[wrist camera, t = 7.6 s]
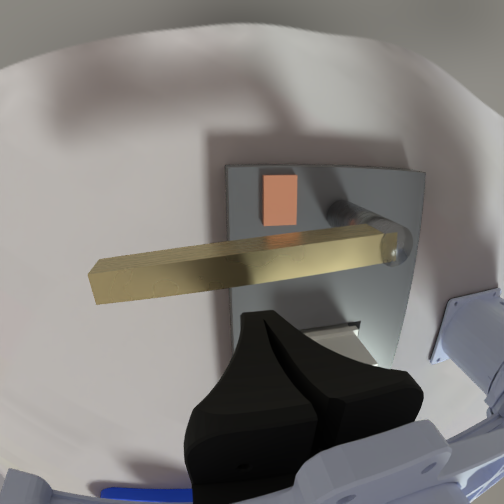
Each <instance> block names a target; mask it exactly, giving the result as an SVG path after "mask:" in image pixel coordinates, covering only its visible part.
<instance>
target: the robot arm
mask: <svg viewBox="0 0 504 504" xmlns="http://www.w3.org/2000/svg"><path fill="white" fill-rule="evenodd" d="M500 295H501V289H500V288H496V289H492V290H488V291H483V292H479V293H475V294H471V295H466V296H462V297H458V298H453V299H450V300H449V301H448V304H447V307H446V311H445V315H444V318H443V322H442V325H441V329H440V332H439V335H438V338H437V341H436V345H435V348H434V351H433V354H432V357H431V359H430V363H431V364H436V363H439V362H442V361H445V360H448V359H451V360H452V361H453V362H454V363H455V364H456V365H457V366H458V367H459V368H460V369H461V370H462V371H463V372H464V373H465V374H466V375H467V376H468V377H469V378H470V379H471V380H472V381H473V382H474V383H475V384H476V385H477V386H478V387H479V388H480V389H481V390H482V391H483V392H484V393H485V394H486V395H487V397H486V399H485V400H484V401H485V402H486V403H487V405H488V406H489V408H488V409H487V418H486V419H485V420H483V421H481V422H480V423H478V424H476V425H474V426H472V427H471V428H469V429H467V430H465V431H463V432H461V433H459V434H457V435H456V436H454V437H452V438H450V439H448V440H445V438H444V437H443V436H442V434H441V433H440V432H439V430H438V429H437V428H436V426H435V425H434V424H433V423H432V422H431V421H429V420H421V421H416V422H414V421H415V419H416V417H417V415H418V413H419V411H420V408H421V406H422V402H423V399H424V394H423V391H422V389H421V387H420V386H419V385H418V384H417V383H416V381H415V380H414V379H413V378H412V377H411V375H410V374H409V373H408V372H407V371H400V370H393V369H387V368H382V367H377V366H373V365H369V364H366V363H363V362H359V361H356V360H354V359H351V358H348V357H346V356H343V355H341V354H338V353H336V352H334V351H332V350H330V349H328V348H326V347H324V346H322V345H321V344H319V343H317V342H316V341H314V340H313V339H311V338H309V337H308V336H306V335H305V334H303V333H302V332H301V331H299V330H298V329H297V328H295V327H294V326H293V325H291V324H290V323H289V322H288V321H286V320H285V319H284V318H283V317H282V316H280V315H279V314H278V313H277V312H276V311H274V310H265V311H254V312H243V313H242V314H241V315H240V330H241V331H240V335H239V340H238V343H237V346H236V349H235V352H234V354H233V357H232V359H231V361H230V363H229V365H228V367H227V369H226V371H225V372H224V374H223V376H222V377H221V379H220V380H219V382H218V383H217V384H216V385H215V387H214V388H213V389H212V390H211V392H210V393H209V394H208V395H207V396H206V397H205V398H204V399H203V400H202V401H201V402H200V403H199V404H198V405H197V406H196V407H195V408H194V409H193V411H192V414H191V417H190V419H189V422H188V426H187V429H186V433H185V439H184V459H185V465H186V468H187V471H188V474H189V477H190V480H191V483H192V496H193V502H184V503H166V502H139V501H125V500H115V499H106V498H98V497H91V496H84V495H78V494H72V493H67V492H62V491H57V490H52V488H51V487H50V485H49V484H48V483H47V482H46V481H45V480H44V479H43V478H41V477H39V476H37V475H34V474H30V473H26V472H23V471H19V470H15V469H12V468H10V469H8V472H7V475H6V478H5V481H4V484H3V487H2V490H1V493H0V504H471V503H470V502H471V501H473V500H474V499H476V498H477V497H478V496H480V495H481V494H482V493H484V492H485V491H486V490H488V489H489V488H490V487H491V486H493V485H494V484H495V483H497V482H498V481H499V480H500V479H501V478H503V477H504V299H502V298H501V297H500Z"/></svg>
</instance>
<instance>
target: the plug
mask: <svg viewBox="0 0 504 504" xmlns="http://www.w3.org/2000/svg"><path fill="white" fill-rule="evenodd" d="M358 330H359V329H358V328H357V327H356V326H348V324H347V323H343V324H336V325H330V326H323V327H315V328H308V329H300V330H299V331H301V332H302V333H303V334H305V335H306V336H308V337H309V338H311V339H313V340H314V341H316V342H317V343H319V344H321V345H322V346H324V347H326V348H328V349H330V350H332V351H334V352H336V353H338V354H341V355H343V356H346V357H348V358H351V359H354V360H356V361H359V362H363V363H366V364H369V365H373V366H378V363H377V362H376V361H375V359H374V358H373V357H372V355H371V354H370V353H369V351H368V350H367V349H366V348H365V346H364V345H363V344H362V342H361V341H360V340H359V338H358V337H357V336H358Z"/></svg>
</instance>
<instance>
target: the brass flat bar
mask: <svg viewBox="0 0 504 504" xmlns="http://www.w3.org/2000/svg"><path fill="white" fill-rule="evenodd" d="M327 221H328V223H329V225H330V226H331V227H332V228H326V229H318V230H310V231H302V232H294V233H286V234H279V235H271V236H263V237H255V238H248V239H240V240H233V241H225V242H218V243H210V244H203V245H196V246H189V247H181V248H174V249H167V250H160V251H153V252H146V253H139V254H132V255H125V256H118V257H111V258H104V259H99V260H98V262H97V263H96V264H95V265H94V267H93V268H92V269H91V271H90V272H89V273H88V278H89V281H90V285H91V288H92V292H93V295H94V298H95V301H96V305H99V304H108V303H116V302H125V301H134V300H142V299H150V298H158V297H166V296H174V295H181V294H189V293H196V292H204V291H211V290H218V289H225V288H232V287H239V286H246V285H253V284H260V283H266V282H273V281H279V280H286V279H292V278H298V277H304V276H311V275H317V274H323V273H329V272H335V271H341V270H347V269H352V268H358V267H364V266H369V265H375V264H381V263H383V264H385V265H386V266H389V267H396V266H399V265H401V264H402V263H404V262H405V261H406V260H407V258H408V257H409V255H410V253H411V251H412V248H413V237H412V234H411V232H410V230H409V229H408V228H406V227H404V226H402V225H400V224H398V223H396V222H394V221H392V220H389V219H387V218H385V217H383V216H381V215H379V214H376V213H374V212H372V211H370V210H368V209H365V208H363V207H361V206H359V205H356V204H354V203H352V202H349V201H347V200H343V199H341V200H337V201H335V202H333V203H332V204H331V205H330V207H329V209H328V211H327Z"/></svg>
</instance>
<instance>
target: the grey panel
mask: <svg viewBox="0 0 504 504" xmlns="http://www.w3.org/2000/svg"><path fill="white" fill-rule="evenodd" d="M225 174H226V213H227V241H233V240H240V239H248V238H255V237H263V236H271V235H279V234H286V233H294V232H302V231H310V230H318V229H326V228H332V227H331V226H330V225H329V223H328V221H327V211H328V209H329V207H330V205H331V204H332V203H333V202H335V201H337V200H341V199H343V200H347V201H349V202H352V203H354V204H356V205H359V206H361V207H363V208H365V209H368V210H370V211H372V212H374V213H376V214H379V215H381V216H383V217H385V218H387V219H389V220H392V221H394V222H396V223H398V224H400V225H402V226H404V227H406V228H408V229H409V230H410V232H411V234H412V237H413V248H412V251H411V253H410V255H409V257H408V258H407V260H406V261H405V262H404V263H402V264H401V265H399V266H396V267H389V266H386V265H385V264H383V263H381V264H375V265H369V266H364V267H358V268H352V269H347V270H341V271H335V272H329V273H323V274H317V275H311V276H304V277H298V278H292V279H286V280H279V281H273V282H266V283H260V284H253V285H246V286H239V287H232V288H229V296H230V318H231V339H232V357H233V354H234V352H235V349H236V346H237V343H238V340H239V335H240V331H241V330H240V315H241V314H242V313H243V312H254V311H265V310H274V311H276V312H277V313H278V314H279V315H280V316H282V317H283V318H284V319H285V320H286V321H288V322H289V323H290V324H291V325H293V326H294V327H295V328H297V329H298V330H300V329H308V328H315V327H323V326H330V325H336V324H343V323H348V326H356V327H357V328H358V329H359V330H358V336H357V337H358V338H359V340H360V341H361V342H362V344H363V345H364V346H365V348H366V349H367V350H368V351H369V353H370V354H371V355H372V357H373V358H374V359H375V361H376V362H377V363H378V366H377V367H382V368H387V369H391V366H392V363H393V359H394V356H395V352H396V348H397V345H398V341H399V337H400V333H401V329H402V325H403V321H404V317H405V312H406V308H407V303H408V299H409V294H410V289H411V284H412V279H413V273H414V267H415V262H416V255H417V249H418V242H419V235H420V227H421V219H422V210H423V200H424V189H425V175H426V173H425V172H420V171H415V170H410V169H399V168H385V167H368V166H348V165H316V164H248V165H225Z"/></svg>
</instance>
